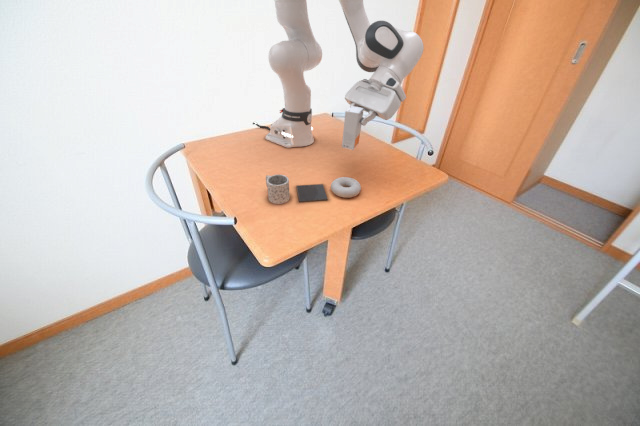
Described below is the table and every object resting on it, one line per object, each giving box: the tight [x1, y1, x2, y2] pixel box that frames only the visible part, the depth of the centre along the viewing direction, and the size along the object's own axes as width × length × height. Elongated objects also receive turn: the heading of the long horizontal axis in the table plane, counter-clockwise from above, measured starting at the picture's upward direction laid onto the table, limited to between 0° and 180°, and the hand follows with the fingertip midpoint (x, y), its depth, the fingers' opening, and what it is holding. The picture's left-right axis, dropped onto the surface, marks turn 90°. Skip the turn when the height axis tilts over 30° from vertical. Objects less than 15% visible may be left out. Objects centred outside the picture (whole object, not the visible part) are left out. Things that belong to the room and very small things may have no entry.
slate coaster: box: [296, 183, 328, 203], centre depth 89 cm, size 9×9×1 cm
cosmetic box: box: [341, 106, 364, 151], centre depth 87 cm, size 6×4×12 cm
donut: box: [330, 176, 362, 199], centre depth 90 cm, size 10×4×10 cm
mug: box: [265, 174, 291, 205], centre depth 85 cm, size 10×7×7 cm, turn 41°
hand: (354, 120), depth 86 cm, fingers closed on cosmetic box, 5 cm apart
